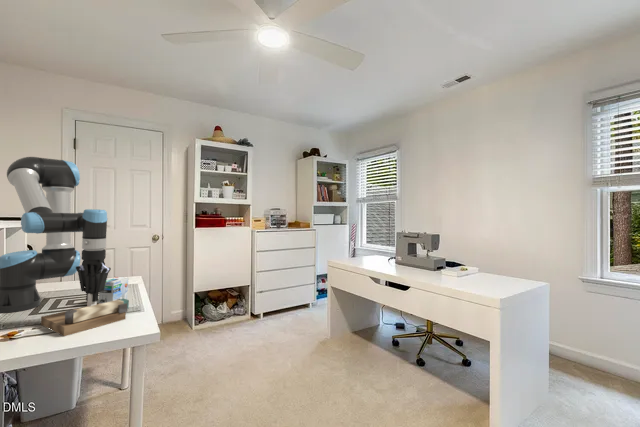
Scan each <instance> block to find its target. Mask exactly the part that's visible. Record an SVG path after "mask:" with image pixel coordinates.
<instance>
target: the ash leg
mask: <svg viewBox="0 0 640 427" xmlns="http://www.w3.org/2000/svg"><path fill="white" fill-rule="evenodd" d="M125 303H127V304H128V309H127V310H129V307H130V306H129V305H130V301H129V299H128V300H127V299H120V300H115V301H111V302H107V303H102V304H99V303H97V304H98V305H93V306H89V307H87V306H84V307H85V308H83V307H79V308H80V309H78V308H75V309H76V310H74V309H69V310H65V311H66V312H65V311H64V312H65V324H71V323H76V322H79V321H83V320H87V319H91V318H95V317H99V316H102V315H106V314H110V313H114V312H118V305H121V304H125Z"/></svg>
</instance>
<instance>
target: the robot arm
mask: <svg viewBox="0 0 640 427" xmlns="http://www.w3.org/2000/svg"><path fill="white" fill-rule="evenodd" d="M80 174H81V173H80V171H79V167H78V166H77V164H76V163H74V162H72V161H68V160H63V159H55V158H48V157H47V158H45V157H37V156H26V157H22V158H19V159H16V160H15V161H13V162H12V163H11V164H10V165H9V166H8V168H7V170H6V177H7V180H8V183H10V185H11V186H14V189H15V191H16V194H17V195H18V198H19V200H20V203H21V206H22V208H23V211H24V213H23V214H22V216H21V218H20V219H21V220H20V226H21V230H22V232H23V233H26V234H37V235H38V234H46V235H45V237H46V238H45V239H46V243H45V245H44V246H43V247H42V248H41V252H38V251H37V250H34V249H33V250H32V249H29V250H19V251H12V252H10V253H8V252H7V253H6V254H2V255H1V256H0V313H2V314H5V313H14V312H22V311H27V310H31V309H34V308H37V307H39V306H41V303H42V302H41V301H42V300H41V296H40V294H39V292H38V289H37V287H36V286H37V283H36V282H37V281H39V280H47V279H54V278H55V279H56V278H65V277H70V276H73V275H75V274H77V276H78V280H79V285H80V291H81V292H85V294H86V296H85V300H86V303H87V304H86V305H87V306H86V307H89V306H93V305H97V304H98V302H99V292H101V291H103V290H104V287H105V283H106V280H107V279H108V276H109V275H108V274H109V273H110V271H111V267H107V266H106V263H105V260H106V255H107V254H106V253H107V252H106V251H107V249H106V248H107V226H108V212H107V211H106V210H105V209H95V208H94V209H92V208H91V209H90V208H88V209H84V210H83V212H75V213H74V212H71V193H72V192H74V190H75V187H78V186H79V185H80V181H81V176H80ZM44 192H45V193H44ZM72 233H82V237H81V238H82V240H81V241H82V242H81V248H82V250H81V253H80V251H78V250H76V247H75V246H74V245H73V244H72V243H71V238H72V237H71V234H72ZM81 260H82V262H81ZM80 263H81V264H80Z"/></svg>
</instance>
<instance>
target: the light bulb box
mask: <svg viewBox="0 0 640 427" xmlns="http://www.w3.org/2000/svg"><path fill="white" fill-rule="evenodd" d="M128 294H129V277H126V276H125V277H124V276H114V277H111V278H110V277H109V278H107V280H106V283H105V287H104V290H103V291H101V292H99V293H98V304H101V303H107V302H111V301H115V300H120V299H127V300H129V298H128Z"/></svg>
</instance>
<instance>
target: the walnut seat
mask: <svg viewBox="0 0 640 427" xmlns="http://www.w3.org/2000/svg"><path fill="white" fill-rule="evenodd" d="M98 304H99V303H97V305H98ZM101 304H102V303H101ZM85 307H86V306H83V307H82V308H85ZM80 308H81V307H79V308H74V309H73V310H76V309H80ZM128 310H129V309H128V304H127V303H125V304H121V305H118V312H114V313H110V314H106V315H102V316H99V317H95V318H91V319H87V320H83V321H79V322H76V323H71V324H65V312H66V311H67V310H65V311H61V312H56V313H52V314H46V315H43V316H40V326H42V327H43V328H47V329H48V328H50V329H52V330H53V331H52V330H51V331H52V332H54V331H55V333H57V334H59V335H61V336H62V337H66V336H70V335H73V334H74V335H75V334H77V333H81V332H84V331H85V332H86V331H88V330H93V329H95V328H100V327H101V326H106V325H110V324H113V323H117V322H120V321H123V320H126V314H127V313H126V312H128ZM50 329H49V330H50Z"/></svg>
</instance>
